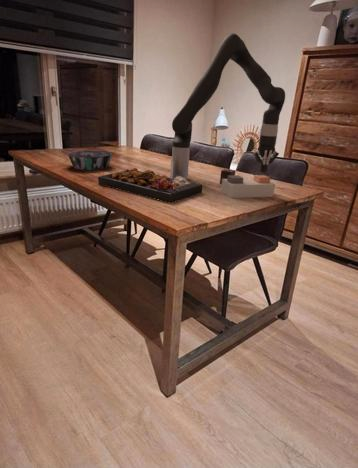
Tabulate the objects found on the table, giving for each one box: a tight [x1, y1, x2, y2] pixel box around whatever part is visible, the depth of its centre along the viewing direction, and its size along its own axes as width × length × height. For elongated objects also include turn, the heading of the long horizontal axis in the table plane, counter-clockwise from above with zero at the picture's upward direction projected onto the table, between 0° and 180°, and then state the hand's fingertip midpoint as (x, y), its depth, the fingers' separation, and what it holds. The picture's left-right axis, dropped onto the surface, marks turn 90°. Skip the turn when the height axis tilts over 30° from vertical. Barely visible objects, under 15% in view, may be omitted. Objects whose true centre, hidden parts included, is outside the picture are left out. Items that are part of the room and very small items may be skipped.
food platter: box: [97, 167, 203, 204], centre depth 157 cm, size 45×25×10 cm, turn 54°
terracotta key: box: [253, 174, 271, 183], centre depth 157 cm, size 6×6×4 cm
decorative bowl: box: [66, 149, 114, 171], centre depth 195 cm, size 26×28×10 cm
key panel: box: [220, 178, 276, 199], centre depth 157 cm, size 22×12×6 cm, turn 105°
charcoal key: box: [227, 174, 244, 184], centre depth 153 cm, size 6×6×4 cm
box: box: [219, 168, 236, 185], centre depth 174 cm, size 6×6×7 cm
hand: (263, 172), depth 156 cm, fingers closed
